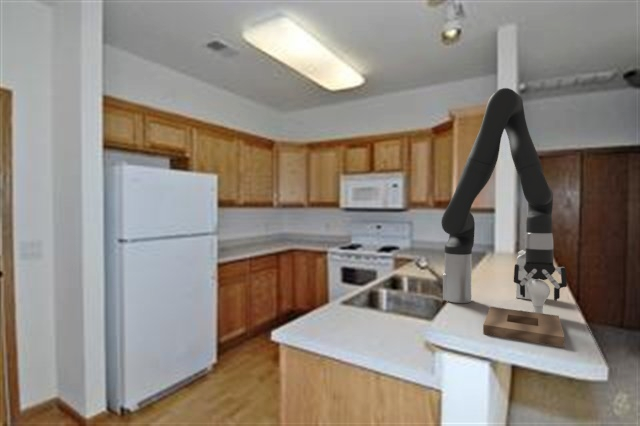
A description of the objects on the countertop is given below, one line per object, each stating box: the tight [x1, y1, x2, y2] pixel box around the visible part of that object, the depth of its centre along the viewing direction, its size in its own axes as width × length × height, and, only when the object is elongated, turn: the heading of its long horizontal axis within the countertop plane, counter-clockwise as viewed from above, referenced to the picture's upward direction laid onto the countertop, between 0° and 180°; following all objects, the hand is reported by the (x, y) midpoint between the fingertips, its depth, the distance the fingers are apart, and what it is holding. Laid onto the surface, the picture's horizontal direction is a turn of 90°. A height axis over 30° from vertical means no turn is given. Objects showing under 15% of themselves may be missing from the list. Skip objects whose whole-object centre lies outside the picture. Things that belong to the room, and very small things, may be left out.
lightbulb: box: [527, 279, 551, 314], centre depth 113 cm, size 6×6×11 cm
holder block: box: [482, 306, 565, 348], centre depth 100 cm, size 18×20×2 cm
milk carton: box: [515, 249, 540, 301], centre depth 135 cm, size 7×7×19 cm
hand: (539, 298), depth 113 cm, fingers open, 8 cm apart
